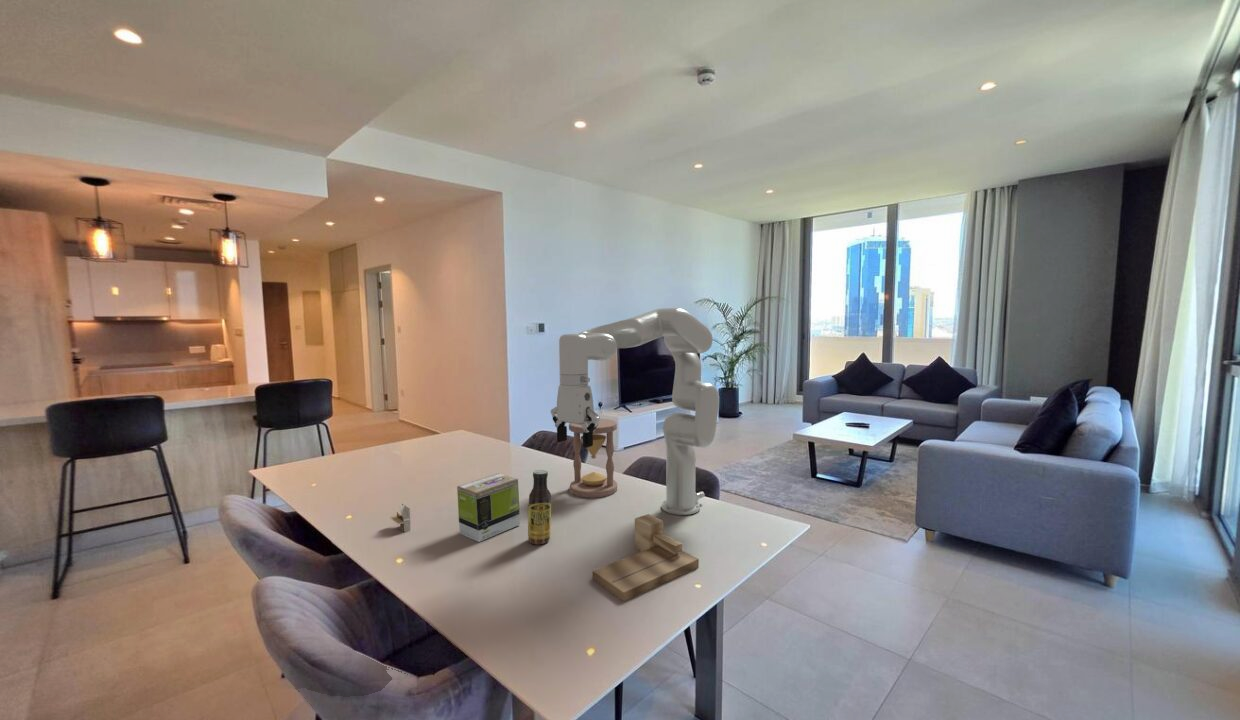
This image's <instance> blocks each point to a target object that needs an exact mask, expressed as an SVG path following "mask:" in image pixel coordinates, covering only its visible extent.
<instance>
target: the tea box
mask: <svg viewBox="0 0 1240 720" xmlns="http://www.w3.org/2000/svg"><path fill="white" fill-rule="evenodd" d="M456 488H457V505H458V506H457V508H458V511H457V512H458V525H459V526H458V527H459V529H458V530H459V534H460V535H462V534H463V535H462V536H464V535H465V536H464V537H466V536H467V538H468V539H471V540H472V541H475V542H477V543H481V542H482V541H485V540H488V539H490V538H492V537H495V536H497V535H498V534H502V533H504V532H507V531H508V530H511V529H513V528H515V527H518V526H521V512H520V510H521V509H520V493H519V479H518V478H516V477H513V476H507V475H504V474H503V473H502V474H501V473H495V474H491V475H489V476H486V477H482V478H478V479H475V480H471V481H469V482H466V483H463V484H460V485H458V486H456Z"/></svg>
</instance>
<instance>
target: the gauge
mask: <svg viewBox="0 0 1240 720" xmlns="http://www.w3.org/2000/svg"><path fill="white" fill-rule="evenodd" d="M657 545H660V546H662V547H663V548H665V549H667V550H669V551H671V552H673V553H675V555H678V553H679V552H681V551H683V543H682V542H680V541H678V540H676V539H675V538H672V537H670V536H668V535H666V534H664V520H663V519H660V518H658V517H656V516H654V515H652V514H649V513H648V514H647V513H646V514H644V515H641V516H639V517H635V518H634V547H635V548H636V549H638V550H640V552H642V551H644V550H647V549H649V548H652V547H654V546H657Z"/></svg>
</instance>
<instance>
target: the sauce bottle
mask: <svg viewBox="0 0 1240 720" xmlns="http://www.w3.org/2000/svg"><path fill="white" fill-rule="evenodd" d="M548 474H549V473H548V471H547V470H545V469H537V470H535V471H534V470H533V473H532V477H533V485H532V490H531V491H530V493H529V496H528V509H527V510H528V518H527V519H528V520H527V521H528V522H527V528H528V529H527V536H528V542H529V543H530V544H533V545H535V546H536V545H543V544H546V543H547V544H548V542H549V541H550V539H551V524H552V523H551V520H552V516H551V513H552V498H551V497H552V496H551V492H550V490H549V489H548V476H549V475H548Z"/></svg>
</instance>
